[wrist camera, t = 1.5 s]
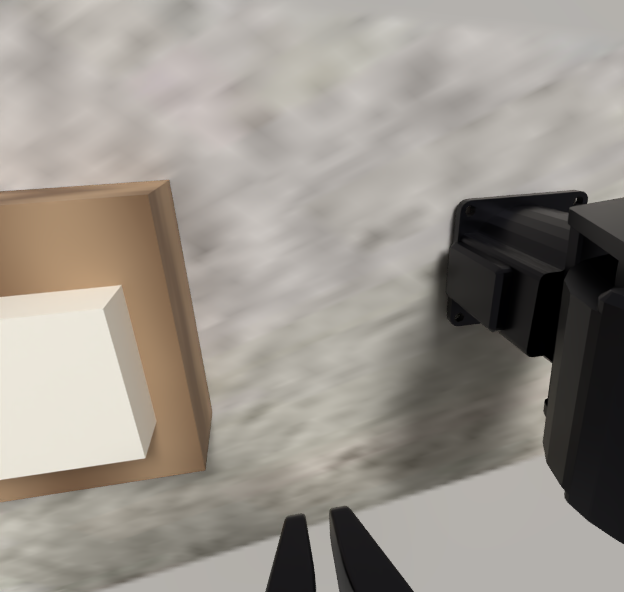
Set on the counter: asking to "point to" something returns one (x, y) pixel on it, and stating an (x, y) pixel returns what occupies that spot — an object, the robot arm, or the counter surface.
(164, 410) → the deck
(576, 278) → the robot arm
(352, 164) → the counter surface
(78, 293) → the cream rectangular block
